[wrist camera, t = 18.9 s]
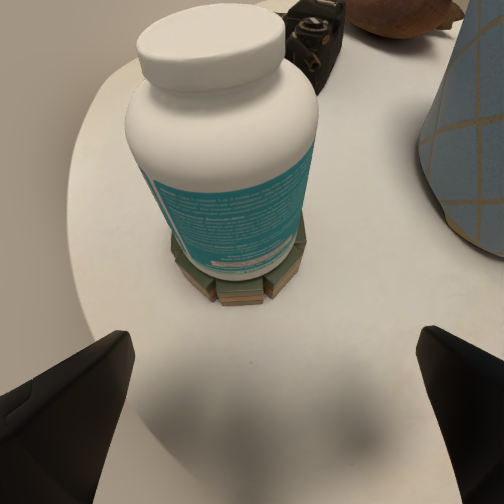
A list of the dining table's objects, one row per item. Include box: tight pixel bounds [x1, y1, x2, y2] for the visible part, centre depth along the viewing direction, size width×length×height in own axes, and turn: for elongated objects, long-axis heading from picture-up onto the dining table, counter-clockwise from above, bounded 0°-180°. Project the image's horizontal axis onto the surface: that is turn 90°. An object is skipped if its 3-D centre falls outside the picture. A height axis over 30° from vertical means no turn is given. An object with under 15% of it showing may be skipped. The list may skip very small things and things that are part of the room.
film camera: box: [274, 0, 346, 95], centre depth 28 cm, size 18×12×10 cm
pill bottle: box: [125, 3, 318, 281], centre depth 14 cm, size 8×7×14 cm
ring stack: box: [171, 211, 307, 306], centre depth 21 cm, size 9×9×3 cm
